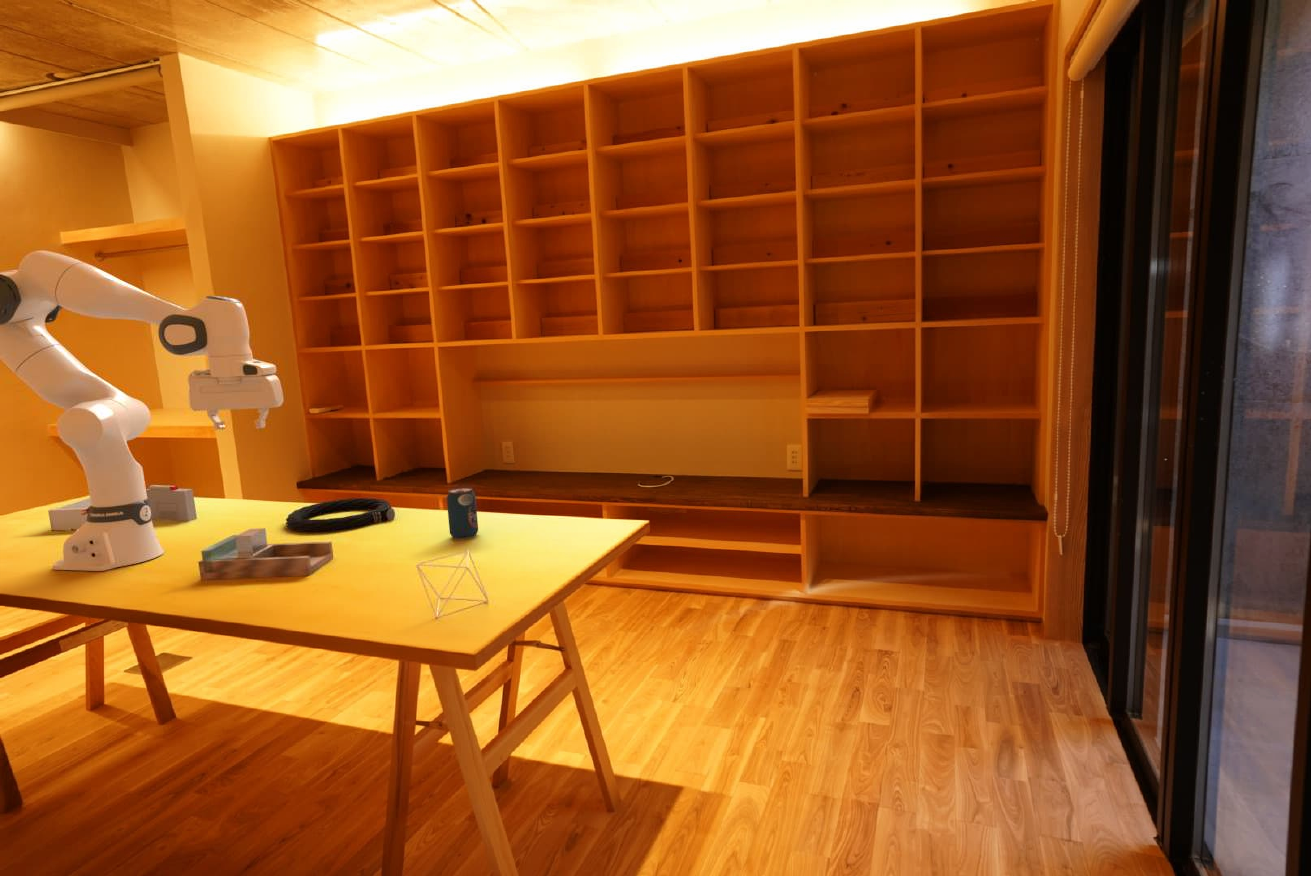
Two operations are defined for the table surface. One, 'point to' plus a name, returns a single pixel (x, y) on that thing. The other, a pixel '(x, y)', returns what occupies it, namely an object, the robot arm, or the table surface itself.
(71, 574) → the table surface
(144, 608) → the table surface
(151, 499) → the cassette player
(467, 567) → the geometric polyhedron
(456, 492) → the soda can
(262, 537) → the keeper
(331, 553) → the drawer
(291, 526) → the cable lock
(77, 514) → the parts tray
